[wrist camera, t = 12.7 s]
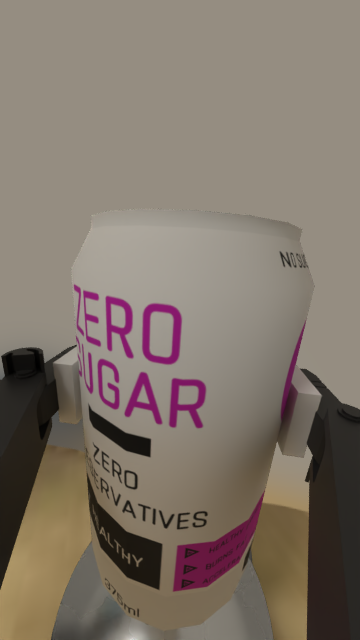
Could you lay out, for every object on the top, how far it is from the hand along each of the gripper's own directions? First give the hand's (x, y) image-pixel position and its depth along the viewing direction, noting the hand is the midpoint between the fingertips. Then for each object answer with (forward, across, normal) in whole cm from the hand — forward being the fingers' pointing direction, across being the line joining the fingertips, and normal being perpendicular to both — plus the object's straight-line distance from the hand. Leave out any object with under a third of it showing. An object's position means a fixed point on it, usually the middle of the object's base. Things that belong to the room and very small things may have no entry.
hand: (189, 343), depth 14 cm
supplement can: (-5, 0, -9) cm, 10 cm away
